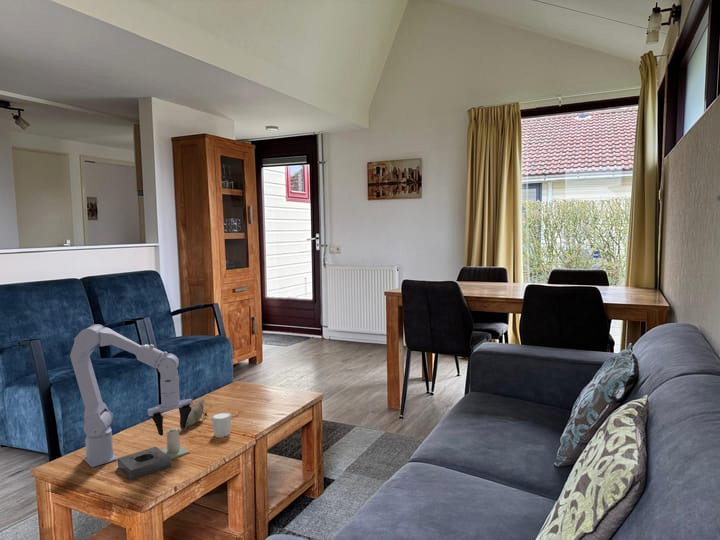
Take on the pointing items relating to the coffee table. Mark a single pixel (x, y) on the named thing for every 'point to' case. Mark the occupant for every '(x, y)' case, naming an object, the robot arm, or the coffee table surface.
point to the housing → (144, 463)
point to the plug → (173, 440)
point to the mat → (174, 455)
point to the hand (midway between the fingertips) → (172, 431)
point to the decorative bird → (195, 414)
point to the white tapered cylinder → (221, 424)
